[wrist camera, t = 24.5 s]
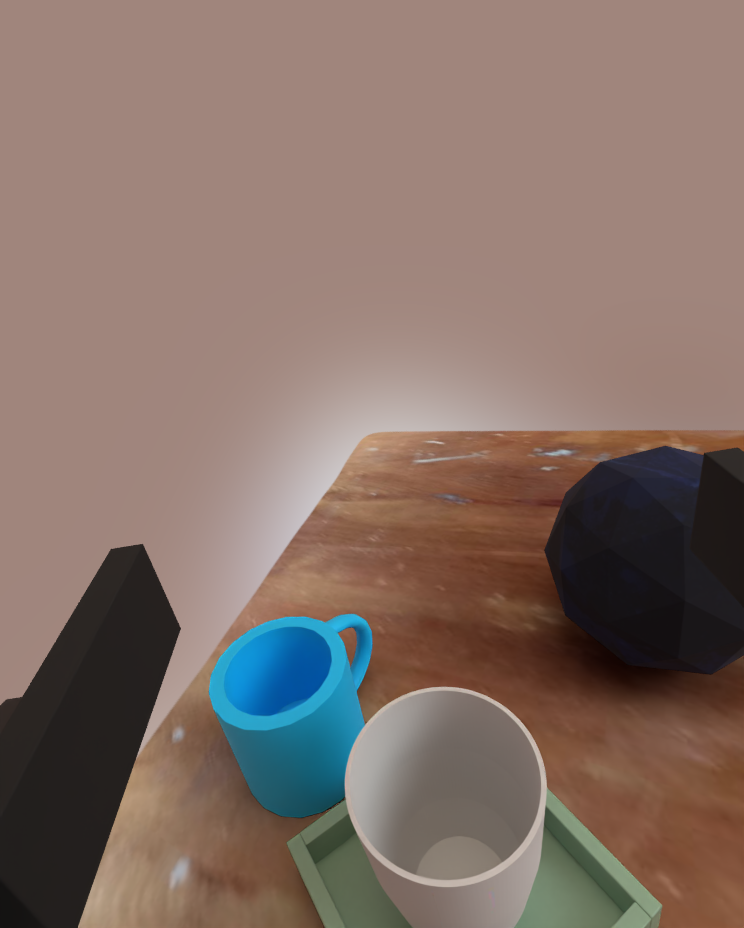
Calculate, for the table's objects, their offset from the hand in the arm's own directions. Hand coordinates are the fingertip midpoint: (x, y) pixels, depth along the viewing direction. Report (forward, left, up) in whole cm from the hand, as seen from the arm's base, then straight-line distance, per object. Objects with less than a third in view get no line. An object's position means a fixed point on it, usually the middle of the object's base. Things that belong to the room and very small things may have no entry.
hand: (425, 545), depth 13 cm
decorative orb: (+23, +7, -25) cm, 35 cm away
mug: (0, +16, -25) cm, 30 cm away
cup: (+1, +3, -24) cm, 24 cm away
